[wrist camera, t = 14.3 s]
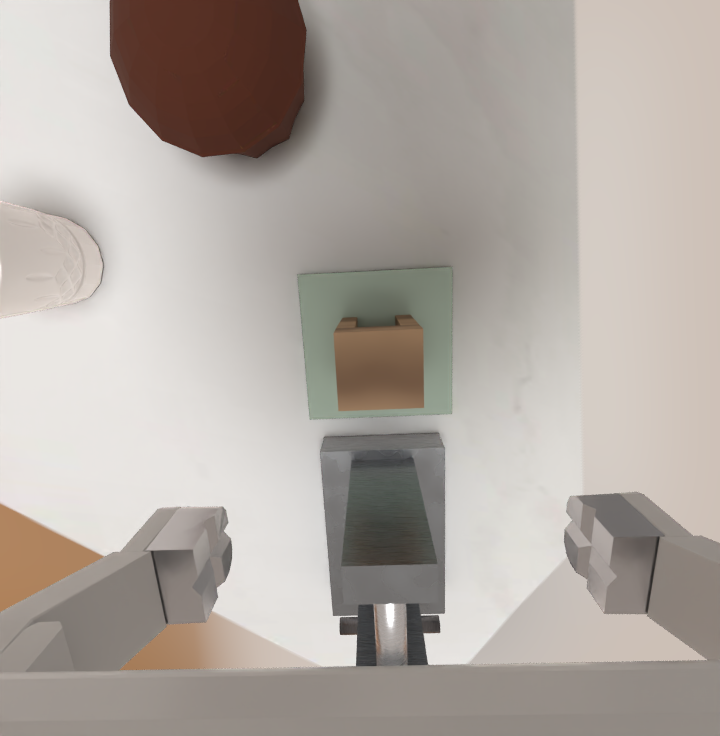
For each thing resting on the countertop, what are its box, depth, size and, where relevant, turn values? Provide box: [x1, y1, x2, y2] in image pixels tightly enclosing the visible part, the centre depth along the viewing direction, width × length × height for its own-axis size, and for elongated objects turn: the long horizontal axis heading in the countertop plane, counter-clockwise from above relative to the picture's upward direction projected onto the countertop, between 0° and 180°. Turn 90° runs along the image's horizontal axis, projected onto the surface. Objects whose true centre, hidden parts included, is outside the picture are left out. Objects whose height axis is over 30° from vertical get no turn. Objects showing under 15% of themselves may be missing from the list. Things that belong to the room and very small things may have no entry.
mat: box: [298, 267, 452, 420], centre depth 33 cm, size 12×12×1 cm
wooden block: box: [333, 315, 424, 411], centre depth 29 cm, size 5×5×8 cm
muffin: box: [110, 0, 307, 158], centre depth 24 cm, size 12×11×10 cm
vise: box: [320, 433, 445, 666], centre depth 30 cm, size 16×10×15 cm, turn 3°
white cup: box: [0, 201, 103, 319], centre depth 27 cm, size 8×8×10 cm
